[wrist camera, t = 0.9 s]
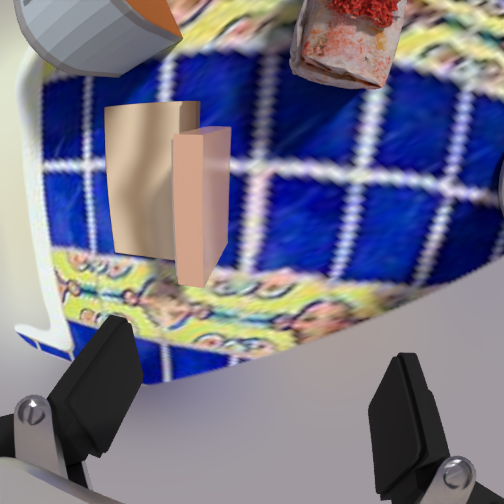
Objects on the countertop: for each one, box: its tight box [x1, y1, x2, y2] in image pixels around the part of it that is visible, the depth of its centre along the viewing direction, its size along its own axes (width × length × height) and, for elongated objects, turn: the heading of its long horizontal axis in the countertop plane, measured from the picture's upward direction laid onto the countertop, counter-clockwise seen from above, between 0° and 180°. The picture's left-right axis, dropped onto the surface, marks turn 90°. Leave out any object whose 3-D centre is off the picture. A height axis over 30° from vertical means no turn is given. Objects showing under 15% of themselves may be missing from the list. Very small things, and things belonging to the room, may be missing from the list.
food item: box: [289, 0, 407, 89], centre depth 18 cm, size 14×8×10 cm, turn 167°
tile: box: [171, 126, 231, 288], centre depth 27 cm, size 2×12×9 cm, turn 177°
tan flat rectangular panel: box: [105, 101, 182, 260], centre depth 31 cm, size 9×17×1 cm, turn 177°
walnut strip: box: [181, 101, 200, 132], centre depth 30 cm, size 1×17×1 cm, turn 177°
